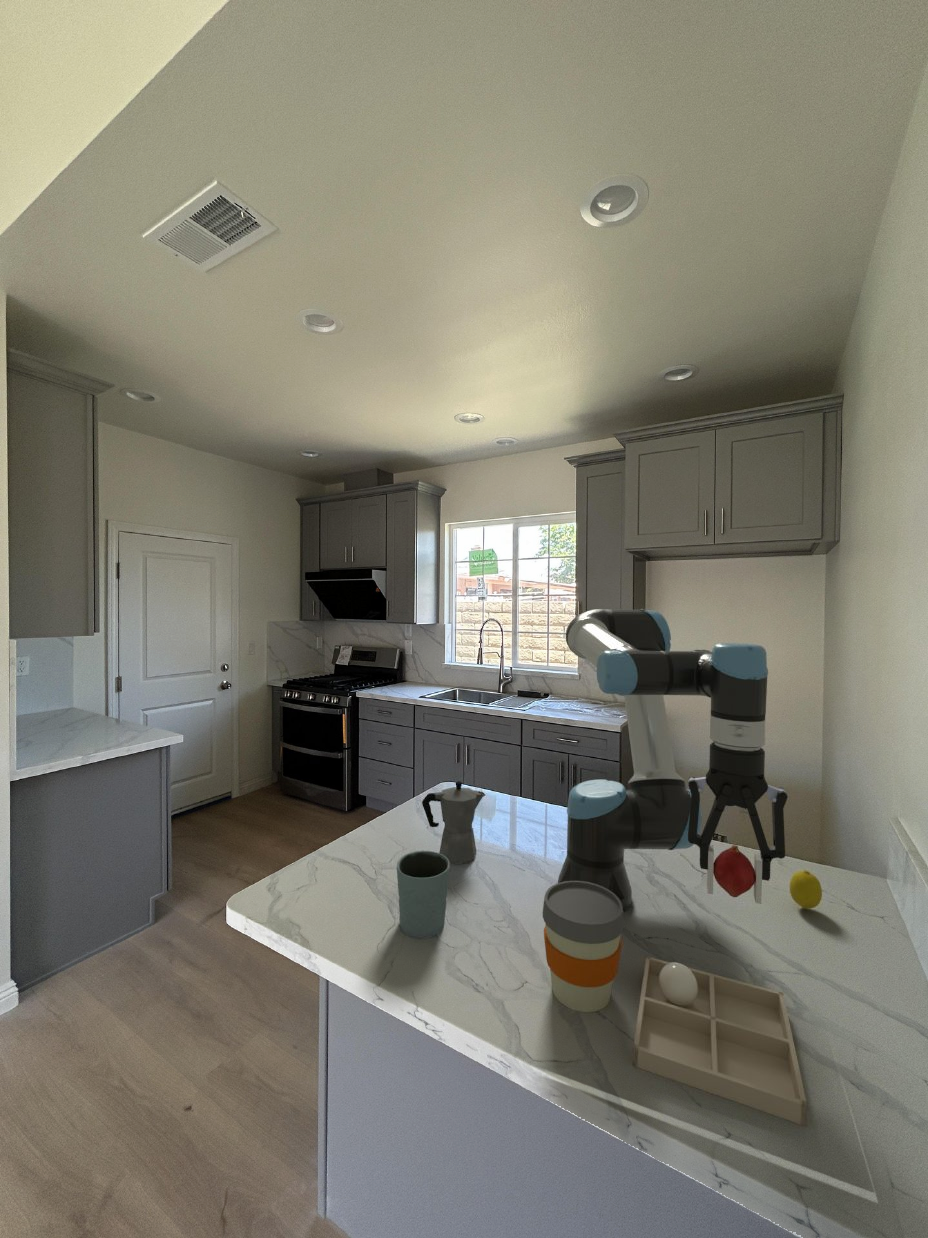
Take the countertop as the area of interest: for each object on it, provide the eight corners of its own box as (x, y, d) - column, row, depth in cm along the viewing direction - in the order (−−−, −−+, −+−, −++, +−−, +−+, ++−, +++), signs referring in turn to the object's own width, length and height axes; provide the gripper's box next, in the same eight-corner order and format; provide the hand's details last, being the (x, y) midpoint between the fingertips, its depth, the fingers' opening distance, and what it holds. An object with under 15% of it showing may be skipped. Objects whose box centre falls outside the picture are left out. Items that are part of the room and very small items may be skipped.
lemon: (826, 919, 106) (827, 879, 105) (795, 915, 107) (796, 876, 106) (813, 903, 111) (815, 865, 111) (784, 899, 112) (786, 862, 112)
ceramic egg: (657, 1008, 82) (658, 972, 81) (659, 984, 87) (660, 950, 86) (697, 1020, 79) (698, 984, 79) (697, 994, 84) (698, 960, 84)
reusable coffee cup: (619, 972, 90) (621, 885, 89) (624, 1032, 78) (627, 931, 77) (544, 960, 93) (545, 875, 92) (537, 1015, 80) (539, 918, 80)
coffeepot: (479, 843, 135) (480, 773, 135) (489, 862, 126) (490, 786, 125) (418, 849, 132) (419, 777, 131) (424, 868, 123) (425, 791, 122)
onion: (705, 887, 85) (705, 837, 85) (739, 885, 86) (740, 836, 85) (726, 907, 79) (727, 853, 79) (763, 905, 80) (764, 852, 80)
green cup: (425, 903, 109) (426, 845, 109) (460, 925, 102) (461, 864, 101) (385, 924, 102) (385, 862, 102) (419, 949, 95) (419, 883, 94)
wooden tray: (632, 1069, 72) (633, 1047, 71) (645, 973, 90) (646, 956, 90) (806, 1130, 64) (807, 1106, 64) (782, 1011, 82) (783, 993, 82)
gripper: (670, 743, 82) (666, 892, 83) (814, 758, 75) (809, 922, 75) (671, 733, 89) (668, 871, 90) (803, 745, 82) (799, 895, 82)
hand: (733, 894), depth 82 cm, fingers closed on onion, 6 cm apart
